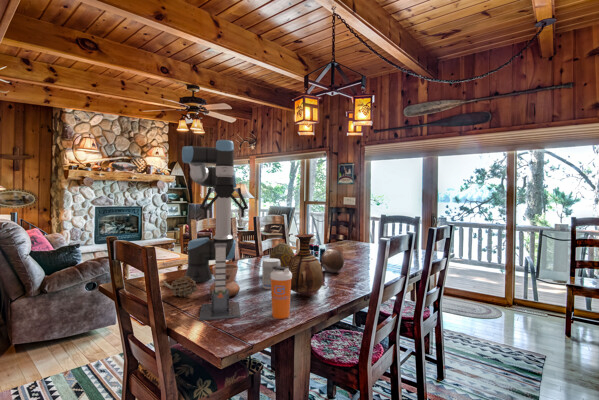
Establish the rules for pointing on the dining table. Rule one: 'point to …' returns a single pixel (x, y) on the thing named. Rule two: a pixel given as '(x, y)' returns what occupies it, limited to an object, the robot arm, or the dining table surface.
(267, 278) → the supplement tub
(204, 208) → the robot arm
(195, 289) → the pine cone
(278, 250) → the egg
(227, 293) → the stand base
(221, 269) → the column
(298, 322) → the dining table surface
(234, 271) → the ceramic jug
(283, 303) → the shaker bottle
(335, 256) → the wooden sphere
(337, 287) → the dining table surface
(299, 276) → the vase
